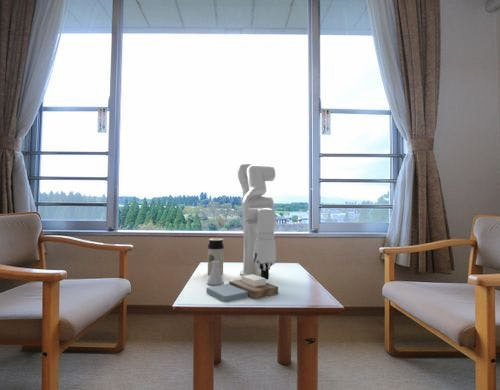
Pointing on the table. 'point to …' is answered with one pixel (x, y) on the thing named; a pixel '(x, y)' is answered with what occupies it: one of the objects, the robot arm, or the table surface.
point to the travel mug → (215, 253)
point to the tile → (254, 280)
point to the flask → (215, 275)
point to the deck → (256, 289)
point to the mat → (227, 292)
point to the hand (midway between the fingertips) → (264, 278)
